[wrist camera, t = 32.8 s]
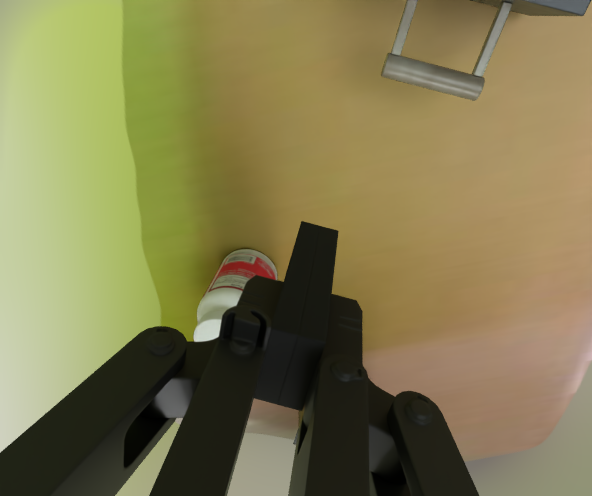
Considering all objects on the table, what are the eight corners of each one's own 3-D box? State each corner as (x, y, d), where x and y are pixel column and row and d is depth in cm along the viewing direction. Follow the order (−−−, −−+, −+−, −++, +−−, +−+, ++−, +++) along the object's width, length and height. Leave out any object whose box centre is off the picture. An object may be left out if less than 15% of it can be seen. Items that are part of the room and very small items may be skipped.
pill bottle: (250, 305, 47) (222, 379, 38) (210, 268, 46) (169, 336, 36) (290, 275, 45) (271, 347, 35) (249, 235, 43) (216, 299, 33)
